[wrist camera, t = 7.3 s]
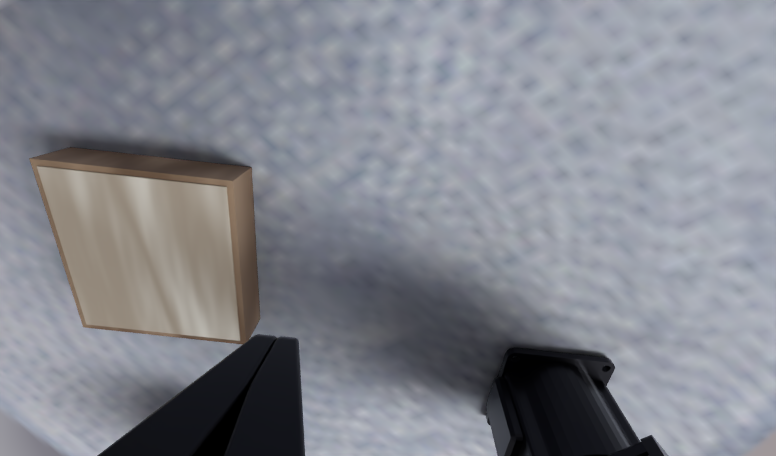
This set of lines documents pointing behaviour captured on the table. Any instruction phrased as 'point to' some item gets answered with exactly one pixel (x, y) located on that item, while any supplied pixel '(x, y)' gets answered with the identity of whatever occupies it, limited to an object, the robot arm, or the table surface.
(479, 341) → the table surface
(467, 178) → the table surface
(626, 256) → the table surface
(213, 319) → the wooden block
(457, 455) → the table surface
